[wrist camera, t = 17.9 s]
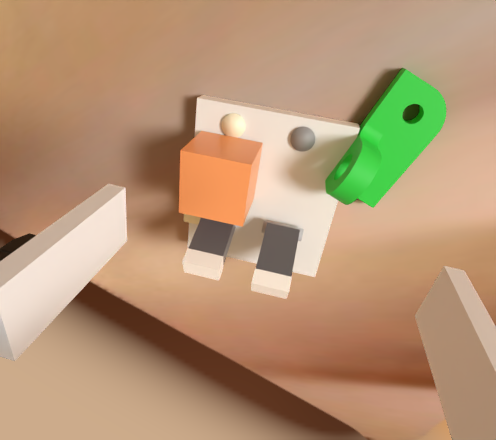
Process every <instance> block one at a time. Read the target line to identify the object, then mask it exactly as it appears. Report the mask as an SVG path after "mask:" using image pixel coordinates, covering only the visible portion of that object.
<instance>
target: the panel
mask: <svg viewBox="0 0 496 440" xmlns="http://www.w3.org/2000/svg"><path fill="white" fill-rule="evenodd" d="M359 130H360V127H359V124H358V123H353V122H348V121H342V120H337V119H331V118H326V117H320V116H315V115H310V114H304V113H299V112H293V111H288V110H283V109H277V108H272V107H266V106H261V105H256V104H250V103H245V102H239V101H234V100H229V99H223V98H218V97H212V96H207V95H202V96H200V97H198V98H197V107H196V123H195V136H197V135H198V134H199V133H200V132H201V131H205V132H210V133H215V134H221V135H226V136H231V137H236V138H241V139H246V140H251V141H256V142H262V143H263V145H262V152H261V158H260V164H259V170H258V177H257V183H256V189H255V195H254V200H253V202H252V205H251V207H250V210H249V212H248V215H247V217H246V220H245V222H244V225H243V227H242V226H239V227H236V228H235V231H234V234H233V237H232V241H231V244H230V247H229V250H228V253H227V256H226V257H231V258H235V259H239V260H244V261H248V262H252V263H256V264H257V261H258V257H259V253H260V249H261V245H262V241H263V237H264V233H261V231H262V226H263V222H264V220H266V221H270V222H275V223H280V224H284V225H289V226H293V227H298V228H302V229H304V231H303V236H302V240H301V241H298V243H297V249H296V254H295V260H294V265H293V270H292V272H295V273H300V274H304V275H308V276H313V277H315V275H316V272H317V269H318V265H319V262H320V259H321V255H322V252H323V249H324V245H325V242H326V239H327V236H328V232H329V229H330V226H331V222H332V219H333V216H334V212H335V209H336V206H337V202H338V200H337V199H335V198H333V197H332V196H330V195H328V194H327V193H326V187H325V180H326V179H327V177H328V176H329V175H330V173H331V172H332V171H333V169H334V168H335V167H336V165H337V164H338V162H339V161H340V160H341V158H342V157H343V156H344V154H345V153H346V152H347V150H348V149H349V148H350V146H351V145H352V144H353V142H354V141H355V140H356V138H357V136H358V133H359ZM199 221H200V217H196V216H192V215H187V214H184V222H188V223H189V232H188V248H189V246H190V243H191V241H192V238H193V236H194V233H195V231H196V229H197V226H198V224H199Z"/></svg>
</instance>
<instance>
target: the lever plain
mask: <svg viewBox="0 0 496 440" xmlns="http://www.w3.org/2000/svg"><path fill="white" fill-rule="evenodd" d="M303 231H304V229H302V228H298V227H293V226H289V225H284V224H280V223H275V222H270V221H266V220H264V222H263V226H262V231H261V233H264V237H263V241H262V245H261V249H260V253H259V257H258V261H257V265H256V268H255V271H254V275H253V279H252V284H251V291H255V292H259V293H263V294H268V295H272V296H276V297H280V298H284V299H287V296H288V294H289V290H290V284H291V279H292V277H291V276H292V270H293V265H294V260H295V254H296V249H297V243H298V241H301V240H302V236H303Z"/></svg>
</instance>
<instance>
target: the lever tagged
mask: <svg viewBox="0 0 496 440" xmlns="http://www.w3.org/2000/svg"><path fill="white" fill-rule="evenodd" d="M236 227H239V226H237V225H233V224H228V223H223V222H219V221H214V220H210V219H205V218H201V217H200V221H199V224H198V226H197V229H196V231H195V233H194V236H193V238H192V241H191V243H190V246H189V248H188V249H187V251H186V254H185V256H184V258H183V261H182V263H183V268H184V272H186V273H190V274H194V275H198V276H202V277H206V278H211V279H215V280H219V279H220V276H221V273H222V270H223V265H224V262H225V259H226V256H227V253H228V250H229V247H230V244H231V241H232V237H233V234H234V231H235V228H236Z"/></svg>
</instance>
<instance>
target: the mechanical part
mask: <svg viewBox="0 0 496 440" xmlns="http://www.w3.org/2000/svg"><path fill="white" fill-rule="evenodd" d="M411 104H418V105H419V113H418V115H417V116H416V117H415V118H414V119H412V120H403V117H402V115H403V111H404V110H405V108H406V107H407V106H409V105H411ZM445 117H446V104H445V101H444V99H443V97H442V95H441V94H440V92H439V91H438V90H436V89H435V88H434V87H432V86H431V85H429V84H427V83H426V82H424V81H423V80H421V79H420V78H418V77H417V76H415V75H414V74H412V73H411V72H409V71H408V70H406V69H404V68H402V69H401V70H400V72H399V73H398V74H397V76H396V77H395V78H394V80H393V81H392V82H391V84H390V85H389V87H388V88H387V89H386V91H385V92H384V93H383V95H382V96H381V97H380V99H379V100H378V102H377V103H376V104H375V106H374V107H373V108H372V110H371V111H370V113H369V114H368V115H367V117H366V118H365V119H364V121H363V122H362V123H361V125H360V126H359V127H360V130H359V133H358V136H357V138H356V140H355V141H354V142H353V144H352V145H351V146H350V148H349V149H348V150H347V152H346V153H345V154H344V156H343V157H342V158H341V160H340V161H339V162H338V164H337V165H336V167H335V168H334V169H333V171H332V172H331V173H330V175H329V176H328V177H327V179H326V180H325V187H326V193H327V194H328V195H330V196H332V197H333V198H335V199H337V200H339V201H340V202H342V203H344V204H345V205H348V204H350V203H352V202H354V201H355V200H356V199H357V198H358V199H359V200H361V201H363V202H364V203H366V204H368V205H369V206H371V207H374V206H375V205H376V204H377V203H378V202H379V200H380V199H381V198H382V197H383V196H384V195H385V194H386V192H387V191H388V190H389V189H390V188H391V187H392V185H393V184H394V183H395V182H396V181H397V180H398V179H399V177H400V176H401V175H402V174H403V173H404V172H405V171H406V169H407V168H408V167H409V166H410V165H411V164H412V163H413V161H414V160H415V159H416V158H417V157H418V156H419V155H420V153H421V152H422V151H423V150H424V149H425V148H426V146H427V145H428V144H429V143H430V142H431V141H432V140H433V138H434V137H435V136H436V135H437V134H438V132H439V131H440V130H441V128H442V126H443V124H444V121H445Z"/></svg>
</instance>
